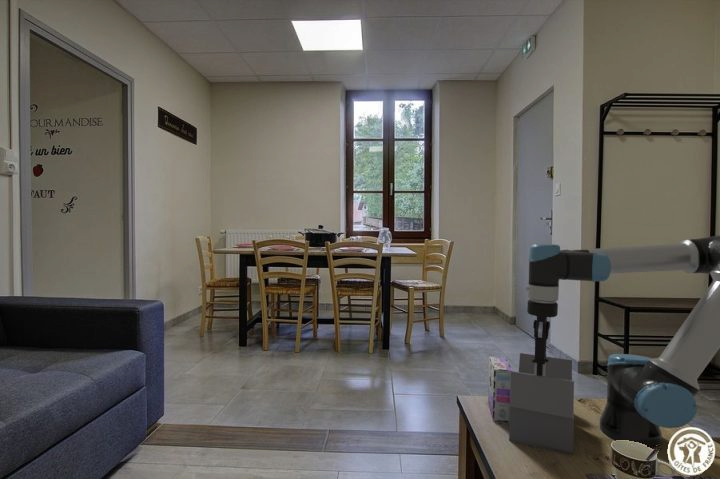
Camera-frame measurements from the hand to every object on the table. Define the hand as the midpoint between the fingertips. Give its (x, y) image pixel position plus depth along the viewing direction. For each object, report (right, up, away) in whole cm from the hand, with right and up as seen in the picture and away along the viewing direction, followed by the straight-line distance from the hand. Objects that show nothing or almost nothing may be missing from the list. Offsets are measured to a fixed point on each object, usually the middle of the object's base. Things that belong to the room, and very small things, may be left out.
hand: (539, 385), depth 110 cm
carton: (+5, -17, +8) cm, 19 cm away
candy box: (-4, -17, +21) cm, 27 cm away
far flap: (+11, -3, +19) cm, 22 cm away
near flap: (0, -2, -1) cm, 2 cm away
